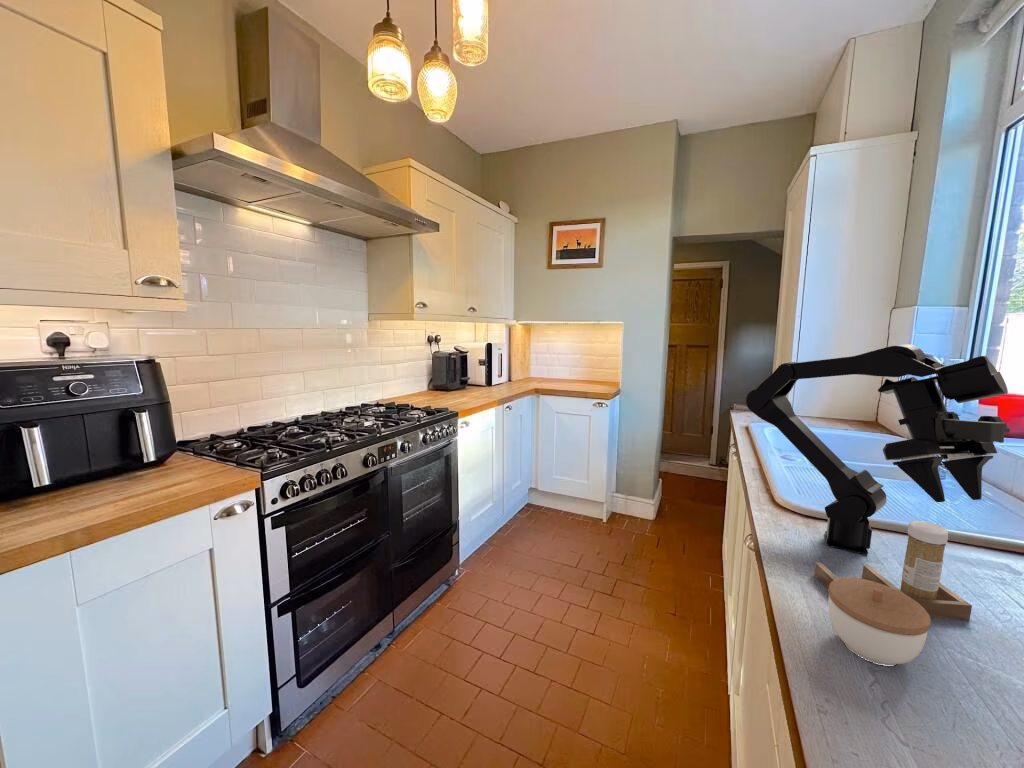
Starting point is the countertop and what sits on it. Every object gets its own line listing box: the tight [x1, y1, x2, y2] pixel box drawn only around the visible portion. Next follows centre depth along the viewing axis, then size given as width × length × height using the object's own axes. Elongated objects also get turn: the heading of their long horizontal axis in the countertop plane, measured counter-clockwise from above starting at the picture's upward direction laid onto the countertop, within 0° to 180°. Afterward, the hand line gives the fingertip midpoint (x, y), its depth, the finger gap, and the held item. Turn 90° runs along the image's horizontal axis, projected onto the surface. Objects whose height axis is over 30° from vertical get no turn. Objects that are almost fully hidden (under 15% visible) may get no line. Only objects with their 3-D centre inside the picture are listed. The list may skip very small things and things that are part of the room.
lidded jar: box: [827, 576, 932, 666], centre depth 58 cm, size 11×11×9 cm
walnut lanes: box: [813, 562, 973, 621], centre depth 70 cm, size 10×17×2 cm, turn 83°
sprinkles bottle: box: [899, 520, 949, 600], centre depth 68 cm, size 5×5×14 cm
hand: (959, 500), depth 69 cm, fingers open, 9 cm apart
